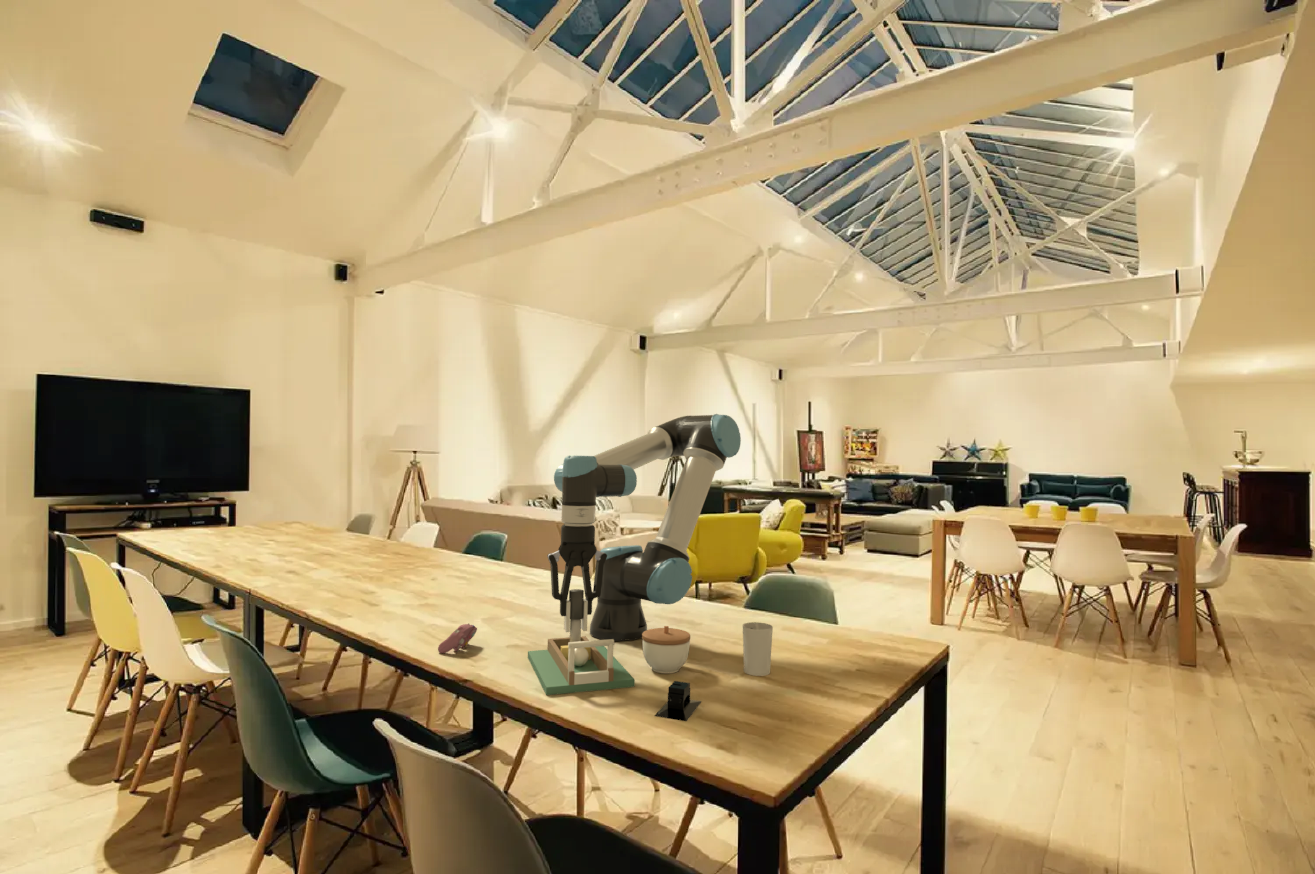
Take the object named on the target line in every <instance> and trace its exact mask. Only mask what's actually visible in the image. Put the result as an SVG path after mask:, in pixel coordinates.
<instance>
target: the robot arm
mask: <svg viewBox="0 0 1315 874" xmlns="http://www.w3.org/2000/svg"><path fill="white" fill-rule="evenodd" d="M741 441H742V439H741V433H740V428H739V425H738V424H737V422H736V421H735V419H734V418H733V417H732V416H729V415H727V414H718V413H713V414H703V415H683V416H680V417H677V418H674V419H670V420H669V421H666V422H663V423H662V424H659V425H657V426H654V427H652V428H650V429H649V430H648V431H647V433H646V434H644V435H641V436H639V437H637V438H634V439H632V440H629V441H626V442H625V443H621V444H619V445H617V446H615V447H612V448H610V449H607V450H605V451H602V452H600V453H598V454H594V455H567V456H565V457H564V459H563V463H561V464H560V465H559V466H558V467H557V468H556V469H555V472H554V475H553V481H554V485H555V487H556V489H557V490H558V491H560V492H561V520H560V521H561V523H562V526H561V527H560V544H559V547H558V549H557V551H555V552H549V553H548V554H547V559H548V562H549V565H550V579H551V580H550V581H551V583H550V584H551V596H552V598H553V599H554V600H558V601H559V614H560V616H561V617H563V620H564V621H563V630H564V631H565V633H570V601H569V590H570V586H571V580H572V575H573V572H574V568H575V567H580V569H581V576H582V583H583V590H584V597H585V598H584V599H583V618H582V619H581V631H583V632H587V631H588V616H590V615H592V612H593V601H594V599H597V600H596V601H597V602H596V607H595V610H594V612H593V615H592V619H591V621H590V625H589V635H590V636H592V637H593V638H596V639H598V640H608V639H614V642H615V641H618V642H620V641H623V642H625V641H634V640H638V639H642V633H643V632H644V631H646V630H648V625H647V624H648V623H647V620H646V618H645V613H644V611H643V607H642V601H643V600H644V601H647V602H652V603H654V604H656V605H657V604H659V605H660V604H663V605H673V604H676V603H678V602H679V601H681V600H682V599H684V597H685V596H686V595H687V594H688V591H689V590H690V588H691V585H692V580H693V576H692V573H693V571H692V566H691V565H690V563H689V561H690V555H689V553H688V551H687V549H688V547H689V546H690V541H691V539H692V537H693V533H694V531H695V527H696V525H697V523H698V519H699V517H700V514H701V513H702V509H703V507H704V504H705V501H706V499H707V496H708V493H709V491H710V488H711V485H712V483H713V479H714V477H715V474H716V472H717V471H719V470H720V471H721V470H722V469H723V468H724V466H725V464H726V461H727V459H728V458H733V457H734V456H736V455H737V454H739V451H740V449H741ZM672 457H684V458H685V462H684V465H683V467H682V470H681V473H680V475H679V477H678V480H677V483H676V485H675V487H674V490H673V492H672V495H671V497H670V501H669V502H668V505H667V508H666V511H665V513H664V516H663V518H662V520H661V523H660V526H659V529H658V531H657V534H656V535H655V538H654V539H651V540H649V541H647V543H646V545H645V548H644V549H643V547H642V545H639V544H638V545H637V544H636V545H633V544H632V545H620V546H609V547H608V546H607V547H603V548H601V549H600V550H598V549H597V547H596V544H595V542H596V541H595V540H596V539H595V537H596V536H595V535H596V527H595V525H593V524H595V522H596V504H597V503H596V500H597V498H600V497H603V498H605V497H606V498H608V497H609V498H610V497H614V498H615V497H618V498H622V497H627V496H630V495H632V493H634V491H635V490H636V487H637V482H638V479H637V477H638V476H637V473H636V471H635V470H636V469H639V468H640V467H642V466H645V465H648V464H649V463H652V462H654V461H657V460H660V461H661V460H662V461H663V460H667V459H669V458H672ZM594 556H595V557H594ZM560 557H561V558H562V559H563V561H564V563H565V565H564V574H563V577H562V578H563V579H562V583H561V589H560V588H559V587H560V586H559V566H558V562H559V561H560ZM593 558H594V559H595V560H596V561H595V570H594V578H593V579H594V580H593V589H592V583H591V582H592V581H591V575H590V573H591V572H590V562H591V561H592V559H593Z"/></svg>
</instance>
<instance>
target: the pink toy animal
mask: <svg viewBox="0 0 1315 874" xmlns="http://www.w3.org/2000/svg"><path fill="white" fill-rule="evenodd" d="M477 631H478V627H476V626H475V625H474V624H470V623H465V624H460V625H459V626H458V627H457V628H456V629H455V630H454V631H453V632H452V633H451V634H450V635H449V636H448V637H447V638H446V639H444V640H443V641H442V642H441V643H439V645H438V647H437V652H438V653H440V654H445V653H449V652H450V651H452V650H453V651H456V652H458V651H459V650H460V649H461V648H466V646H467V645H469V642H470V641H471V640H472V639H473V638H474V637H475V635H476V633H477Z"/></svg>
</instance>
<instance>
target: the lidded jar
mask: <svg viewBox="0 0 1315 874" xmlns="http://www.w3.org/2000/svg"><path fill="white" fill-rule="evenodd" d="M641 639H642V643H641V644H642V653H643V658H644V660H645V662H646V663H647V665H648V666H649V667H651V670H652V671H654V672H655V673H659V674H674V673H677V672H679V671H680V669H681V668H682V667H683V666H684V664H685V663H686V662H687V660H688V657H689V653H690V642H691V634H690V632H688V631H686V630H683V629H679V628H673V627H669V625H664V626H663V627H656V628H654V627H653V628H650V629H647V630H646V631H644V632H643V633H642V638H641Z"/></svg>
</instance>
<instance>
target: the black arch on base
mask: <svg viewBox="0 0 1315 874" xmlns="http://www.w3.org/2000/svg"><path fill="white" fill-rule="evenodd" d="M667 689H668V690H667V691H668V692H667V701H666V703H665V704H664V705H663V706H662V707H660V709H659V710H658V711H657V712H656V714H654V717H657V718H664V719H668V720H677V721H682V722H688V721H689V720H690V718H691V717H692V715H693V714H694V712H695V711H696V710H697V708H698V707H699V705H701V703H702V702H703V701H702V700H695V699H691V683H690V682H684V681H678V680H674V681H673V682H672V683H671V684H670V685H669V686H668V688H667Z"/></svg>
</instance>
